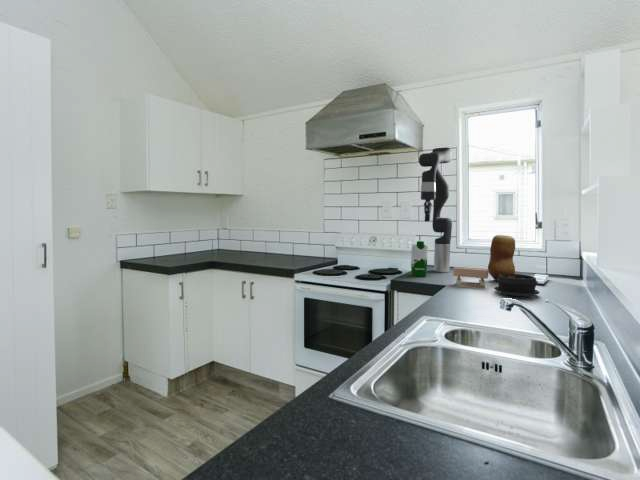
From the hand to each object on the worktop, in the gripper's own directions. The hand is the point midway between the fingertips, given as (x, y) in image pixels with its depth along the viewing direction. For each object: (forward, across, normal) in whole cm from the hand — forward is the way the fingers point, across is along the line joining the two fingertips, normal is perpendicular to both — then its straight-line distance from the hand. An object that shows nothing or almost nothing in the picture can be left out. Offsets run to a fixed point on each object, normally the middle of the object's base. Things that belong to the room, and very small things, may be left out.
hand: (427, 221), depth 214 cm
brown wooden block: (+27, +9, +22) cm, 36 cm away
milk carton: (+32, -12, -4) cm, 35 cm away
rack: (+32, +9, +22) cm, 40 cm away
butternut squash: (+32, -10, +39) cm, 51 cm away
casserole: (+32, +24, +41) cm, 58 cm away
